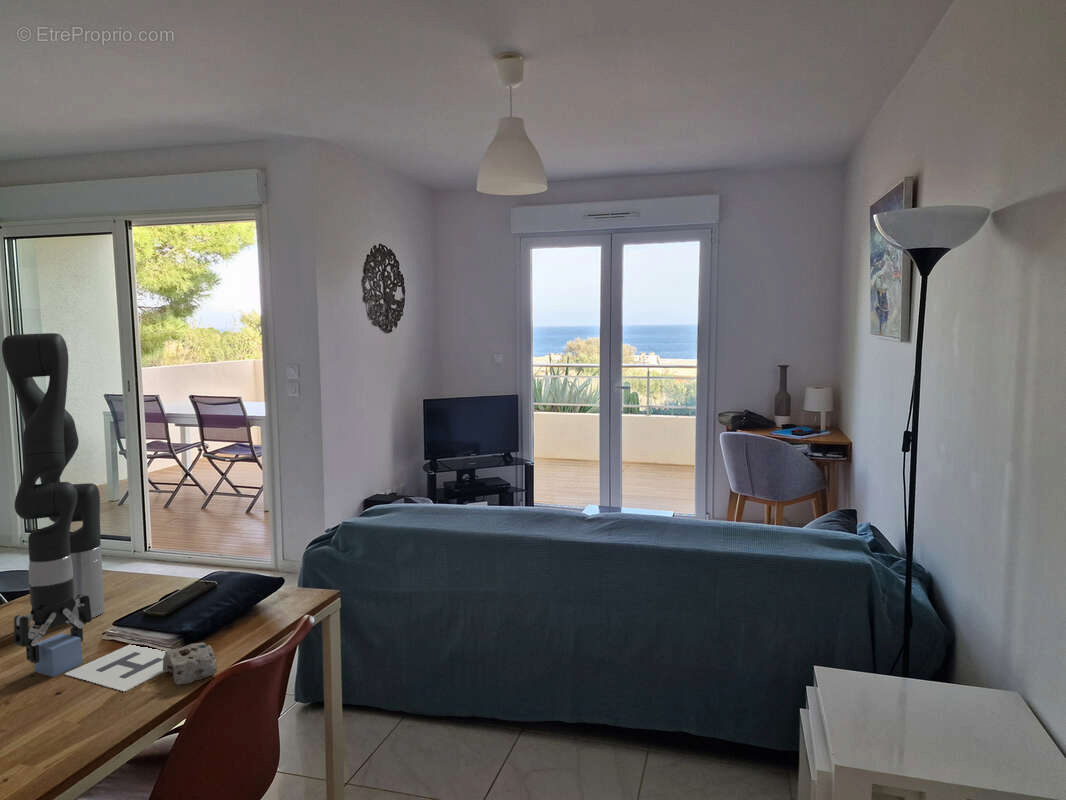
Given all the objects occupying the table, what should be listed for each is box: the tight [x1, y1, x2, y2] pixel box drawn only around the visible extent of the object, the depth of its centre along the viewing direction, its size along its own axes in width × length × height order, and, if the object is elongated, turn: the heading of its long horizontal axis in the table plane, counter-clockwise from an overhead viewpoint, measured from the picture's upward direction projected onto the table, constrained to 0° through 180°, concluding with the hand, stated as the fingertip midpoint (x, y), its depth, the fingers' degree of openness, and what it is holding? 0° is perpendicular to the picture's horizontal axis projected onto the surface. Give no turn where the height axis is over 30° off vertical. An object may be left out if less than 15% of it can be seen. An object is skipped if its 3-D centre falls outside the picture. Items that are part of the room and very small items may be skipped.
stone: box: [163, 641, 218, 686], centre depth 143 cm, size 13×6×10 cm
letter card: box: [63, 643, 166, 693], centre depth 146 cm, size 18×16×1 cm
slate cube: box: [33, 632, 83, 678], centre depth 145 cm, size 6×6×6 cm
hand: (55, 653), depth 144 cm, fingers open, 8 cm apart
